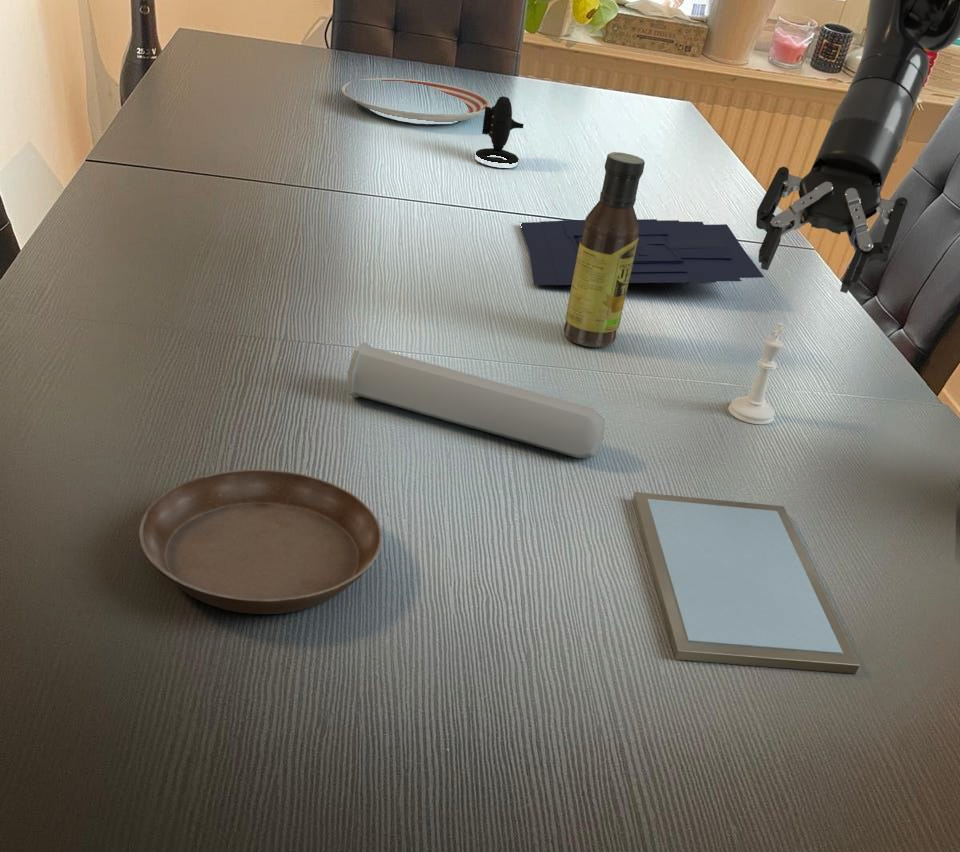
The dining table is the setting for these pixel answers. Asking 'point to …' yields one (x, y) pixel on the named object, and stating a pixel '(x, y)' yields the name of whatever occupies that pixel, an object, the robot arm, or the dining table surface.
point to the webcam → (499, 131)
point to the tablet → (739, 585)
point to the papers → (644, 252)
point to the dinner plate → (471, 99)
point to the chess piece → (760, 386)
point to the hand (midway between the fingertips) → (804, 277)
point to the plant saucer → (260, 539)
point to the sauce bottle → (605, 256)
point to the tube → (475, 402)
